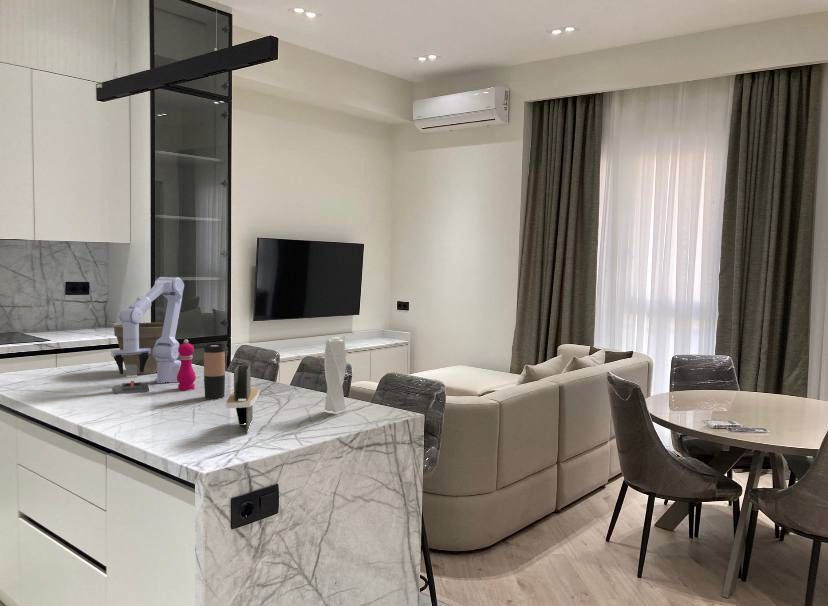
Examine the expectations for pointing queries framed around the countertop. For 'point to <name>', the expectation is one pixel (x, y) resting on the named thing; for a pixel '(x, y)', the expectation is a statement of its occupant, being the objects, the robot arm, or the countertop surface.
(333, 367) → the skyscraper
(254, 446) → the countertop surface
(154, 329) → the plant pot
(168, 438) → the countertop surface
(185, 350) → the pepper mill
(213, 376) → the travel mug
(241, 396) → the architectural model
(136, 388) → the stand base
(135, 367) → the brushed metal block
